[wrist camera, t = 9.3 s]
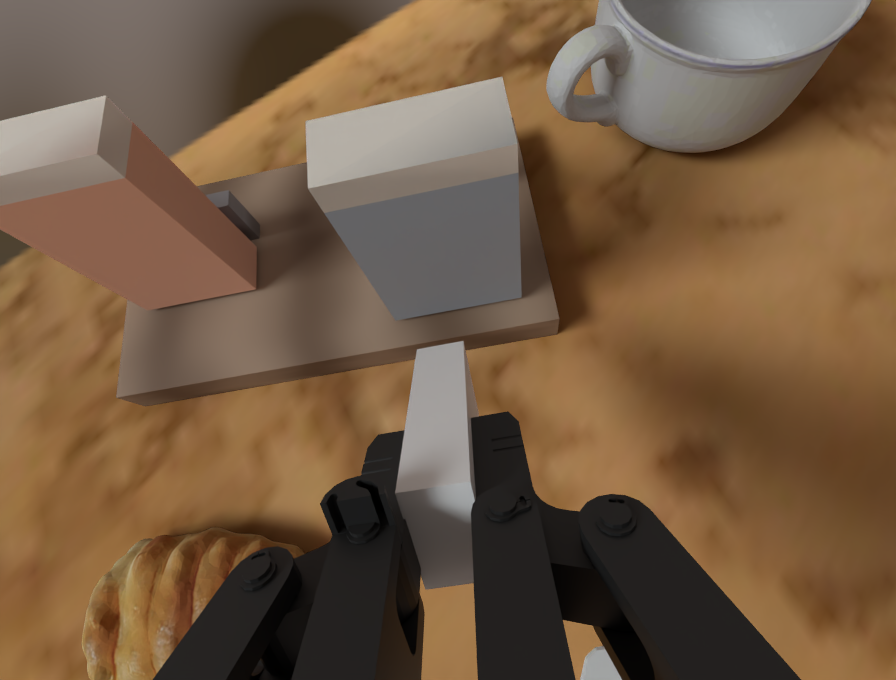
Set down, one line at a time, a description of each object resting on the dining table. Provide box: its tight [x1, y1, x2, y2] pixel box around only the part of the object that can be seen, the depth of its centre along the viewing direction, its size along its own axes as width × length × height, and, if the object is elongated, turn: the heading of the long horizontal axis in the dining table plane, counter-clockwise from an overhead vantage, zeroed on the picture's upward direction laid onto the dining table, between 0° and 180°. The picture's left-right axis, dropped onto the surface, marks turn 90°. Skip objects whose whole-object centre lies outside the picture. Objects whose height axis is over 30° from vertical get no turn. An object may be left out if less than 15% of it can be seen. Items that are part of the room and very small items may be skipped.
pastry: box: [82, 527, 304, 680], centre depth 21 cm, size 9×7×4 cm
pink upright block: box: [0, 96, 257, 310], centre depth 21 cm, size 6×2×10 cm, turn 97°
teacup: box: [547, 0, 871, 153], centre depth 24 cm, size 14×11×8 cm
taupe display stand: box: [116, 118, 559, 406], centre depth 25 cm, size 22×12×5 cm, turn 97°
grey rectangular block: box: [306, 77, 522, 321], centre depth 19 cm, size 6×2×10 cm, turn 97°
